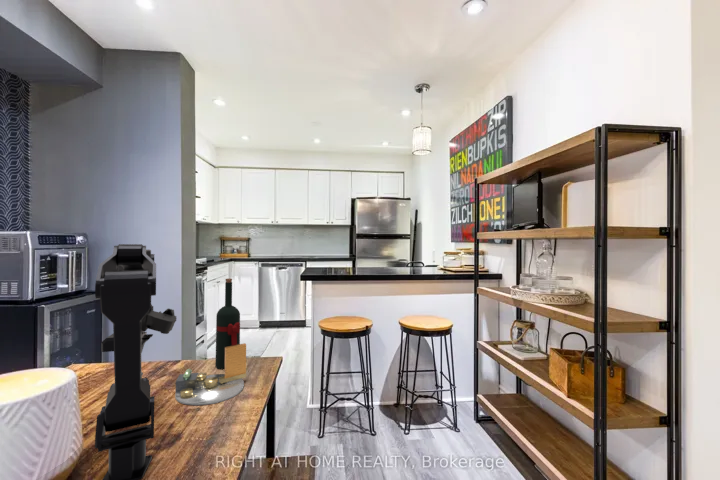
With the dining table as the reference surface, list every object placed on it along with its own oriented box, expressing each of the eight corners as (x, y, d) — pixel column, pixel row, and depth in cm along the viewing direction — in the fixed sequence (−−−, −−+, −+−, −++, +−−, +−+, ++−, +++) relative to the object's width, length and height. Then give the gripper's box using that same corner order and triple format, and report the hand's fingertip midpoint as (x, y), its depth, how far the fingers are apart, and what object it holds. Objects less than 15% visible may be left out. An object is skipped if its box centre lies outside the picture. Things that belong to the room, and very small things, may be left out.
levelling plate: (242, 400, 90) (242, 379, 90) (167, 409, 84) (168, 387, 84) (244, 374, 107) (245, 357, 107) (182, 380, 101) (183, 362, 101)
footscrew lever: (206, 388, 93) (206, 353, 93) (202, 384, 96) (203, 349, 96) (247, 377, 100) (247, 345, 100) (242, 374, 103) (243, 342, 103)
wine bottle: (224, 373, 107) (225, 281, 107) (211, 365, 114) (212, 278, 114) (247, 367, 113) (248, 279, 113) (233, 359, 120) (234, 276, 120)
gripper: (161, 310, 71) (160, 382, 71) (182, 294, 89) (181, 352, 89) (100, 312, 68) (99, 387, 68) (135, 296, 86) (134, 355, 86)
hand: (134, 368), depth 78 cm, fingers closed
